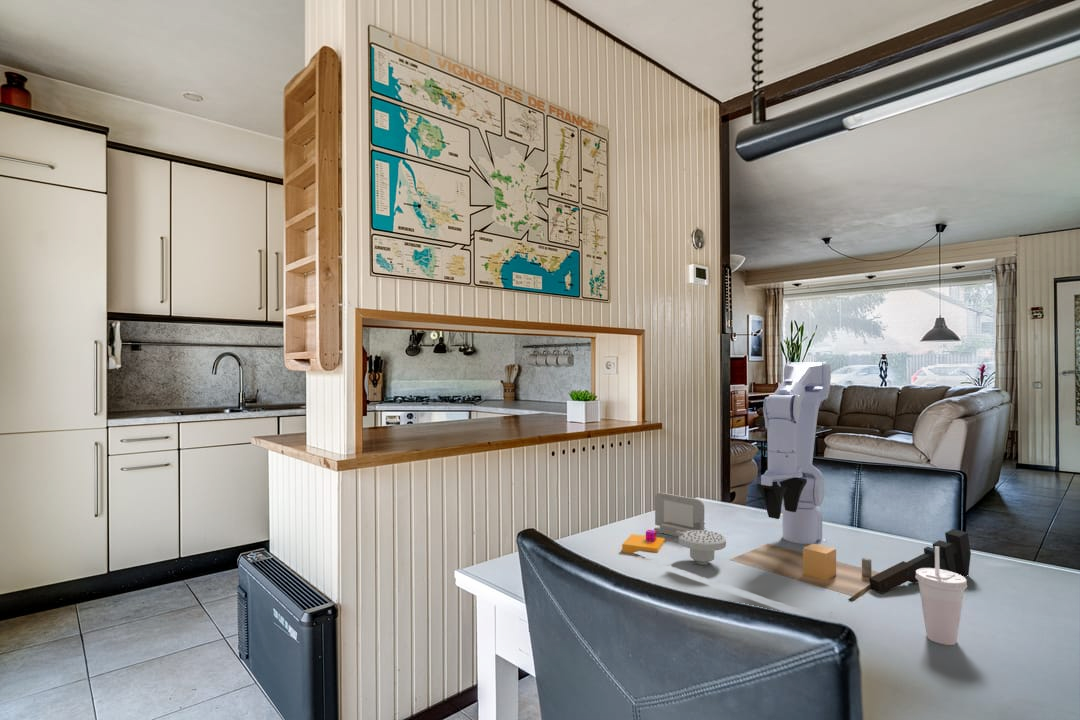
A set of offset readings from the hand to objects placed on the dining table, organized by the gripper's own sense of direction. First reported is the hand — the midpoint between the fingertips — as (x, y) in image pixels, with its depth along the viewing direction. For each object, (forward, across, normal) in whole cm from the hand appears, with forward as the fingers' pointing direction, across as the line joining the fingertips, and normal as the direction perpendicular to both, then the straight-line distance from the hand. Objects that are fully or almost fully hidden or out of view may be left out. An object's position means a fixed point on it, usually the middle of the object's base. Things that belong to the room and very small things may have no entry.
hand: (782, 514), depth 118 cm
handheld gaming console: (+10, +1, +25) cm, 27 cm away
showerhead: (+10, -16, +9) cm, 21 cm away
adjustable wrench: (+10, +8, -23) cm, 26 cm away
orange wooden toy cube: (+9, -5, -10) cm, 14 cm away
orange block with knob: (+10, -16, +24) cm, 31 cm away
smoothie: (+10, -15, -32) cm, 36 cm away
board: (+10, -3, -6) cm, 12 cm away
